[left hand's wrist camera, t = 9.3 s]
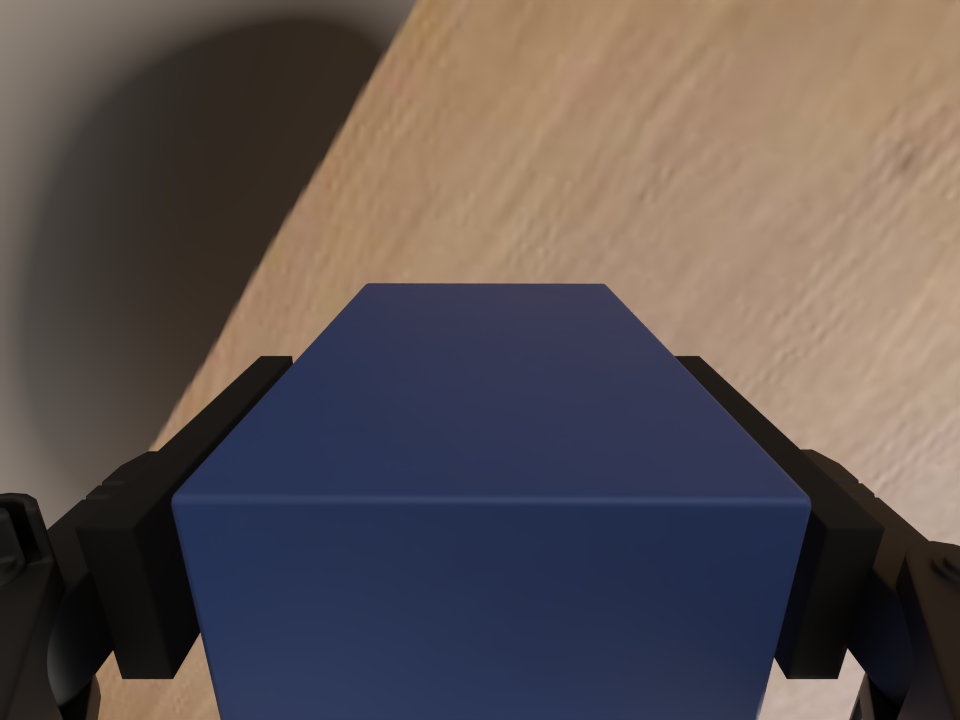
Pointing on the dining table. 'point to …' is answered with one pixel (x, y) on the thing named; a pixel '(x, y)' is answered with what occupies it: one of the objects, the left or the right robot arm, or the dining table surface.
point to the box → (489, 522)
